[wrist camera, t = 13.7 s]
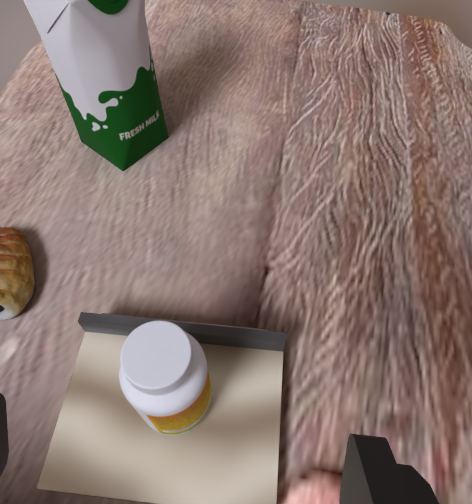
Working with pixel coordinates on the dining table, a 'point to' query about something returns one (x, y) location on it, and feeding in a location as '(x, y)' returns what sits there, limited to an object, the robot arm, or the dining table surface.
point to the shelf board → (171, 446)
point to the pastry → (14, 273)
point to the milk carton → (104, 73)
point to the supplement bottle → (165, 377)
